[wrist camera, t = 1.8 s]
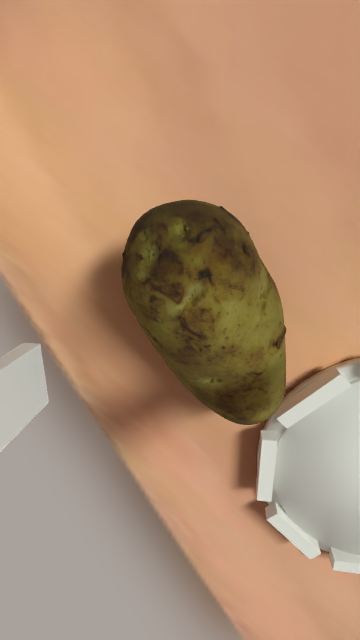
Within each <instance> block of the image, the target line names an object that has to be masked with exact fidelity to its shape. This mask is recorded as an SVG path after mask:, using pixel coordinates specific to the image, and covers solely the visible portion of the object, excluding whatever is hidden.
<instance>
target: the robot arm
mask: <svg viewBox="0 0 360 640" xmlns="http://www.w3.org/2000/svg"><path fill="white" fill-rule="evenodd" d="M48 403H49V399H48V392H47V386H46V379H45V373H44V366H43V359H42V353H41V346H40V344H37V343H22V344H20V345H19V346H17V347H15V348H14V349H12V350H11V351H9V352H7V353H5V354H4V355H2V356H0V452H1V451H2V450H3V449H4V448H5V447H6V446H7V445H8V444H9V443H10V442H11V441H12V440H13V439H14V438H15V437H16V436H17V435H18V434H19V433H20V432H21V431H22V429H24V428H25V427H26V426H27V424H28V423H29V422H31V421H32V419H33V418H34V417H35V416H36V415H37V414H38V413H39V412H40V411H41V410H42V409H43V408H44V407H45V406H46V405H47V404H48Z"/></svg>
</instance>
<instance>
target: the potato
mask: <svg viewBox="0 0 360 640" xmlns="http://www.w3.org/2000/svg"><path fill="white" fill-rule="evenodd" d="M122 281H123V288H124V293H125V296H126V299H127V301H128V304H129V306H130V308H131V310H132V311H133V313H134V314H135V316H136V317H137V319H138V321H139V323H140V325H141V326H142V328H143V329H144V331H145V333H146V334H147V336H148V338H149V339H150V341H151V343H152V344H153V345H154V347H155V348H156V349H157V350H158V352H159V353H160V354H161V356H162V357H163V358H164V360H165V361H166V363H167V364H168V366H169V367H170V368H171V369H172V371H173V372H174V373H175V374H176V376H177V377H178V378H179V379H180V380H181V382H182V383H183V384H184V385H185V386H186V387H187V388H188V389H189V390H190V391H191V392H192V393H193V394H194V395H195V396H196V397H197V398H198V399H199V400H200V401H201V402H202V403H203V404H205V405H206V406H207V407H208V408H210V409H211V410H213V411H214V412H215V413H217V414H219V415H220V416H222V417H224V418H225V419H227V420H230V421H232V422H234V423H237V424H243V425H252V424H257V423H259V422H262V421H264V420H267V419H268V418H270V417H271V416H272V415H273V414H275V412H276V411H277V410H278V408H279V407H280V405H281V403H282V401H283V398H284V396H285V395H284V394H285V385H286V352H285V333H286V327H285V325H284V317H283V309H282V304H281V300H280V297H279V293H278V290H277V288H276V285H275V283H274V281H273V279H272V277H271V276H270V274H269V272H268V271H267V269H266V267H265V266H264V264H263V262H262V260H261V259H260V257H259V255H258V252H257V250H256V248H255V246H254V243H253V241H252V239H251V237H250V235H249V232H247V231H246V229H245V227H244V226H243V225H242V223H241V222H240V221H239V220H238V219H237V218H236V217H234V216H233V215H232V214H231V213H229V212H228V211H227V210H225V209H224V208H223V207H222V206H220V207H218V206H216V205H213V204H210V203H207V202H202V201H197V200H181V201H175V202H170V203H166V204H162V205H160V206H157V207H155V208H153V209H151V210H149V211H148V212H146V213H145V214H143V215H142V216H141V217H140V218H139V219H138V220H137V222H136V223H135V224H134V226H133V228H132V230H131V232H130V235H129V237H128V240H127V243H126V246H125V250H124V253H123V264H122Z"/></svg>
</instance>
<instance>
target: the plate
mask: <svg viewBox="0 0 360 640" xmlns="http://www.w3.org/2000/svg"><path fill="white" fill-rule="evenodd" d="M256 496H257V500H258V501H267V503H268V505H269V506H267V507H265V512H266V520H267V521H268V522H270V523H271V524H272V525H273V526H274V527H275V528H276V529H277V530H278V531H279V532H280V533H282V534H283V535H284V536H285V537H286V538H287V539H288V540H289V541H290V542H291V543H293V544H294V545H295V546H296V547H297V548H298V549H299V550H300V551H301V552H302V553H303V554H305V555H306V556H307V557H308V558H309V559H312V558H314V557H316V556H318V555H320V554H321V552H320V549H321V550H324V551H327V552H329V559H330V562H331V566H332V569H333V570H336V571H343V572H351V573H358V574H360V357H359V358H355V359H350V360H347V361H344V362H341V363H339V364H336V365H333V366H330V367H328V368H326V369H324V370H322V371H320V372H318V373H316V374H314V375H312V376H311V377H309V378H308V379H306V380H305V381H303V382H301V383H300V384H299V385H298V386H296V387H295V388H294V389H293V390H291V391H290V392H289V393H288V394H287V395H286V396H285V397H284V398H283V401H282V403H281V405H280V407H279V408H278V410H277V411H276V412H275V414H273V415H272V416H271V417H270V418H268V420H267V422H266V424H265V426H264V427H263V430H261V431H260V439H259V444H258V450H257V480H256Z"/></svg>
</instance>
